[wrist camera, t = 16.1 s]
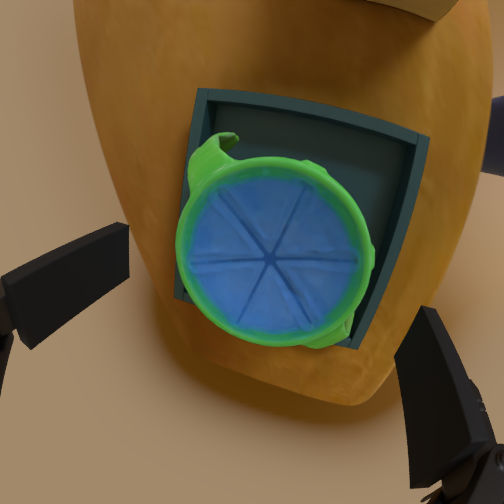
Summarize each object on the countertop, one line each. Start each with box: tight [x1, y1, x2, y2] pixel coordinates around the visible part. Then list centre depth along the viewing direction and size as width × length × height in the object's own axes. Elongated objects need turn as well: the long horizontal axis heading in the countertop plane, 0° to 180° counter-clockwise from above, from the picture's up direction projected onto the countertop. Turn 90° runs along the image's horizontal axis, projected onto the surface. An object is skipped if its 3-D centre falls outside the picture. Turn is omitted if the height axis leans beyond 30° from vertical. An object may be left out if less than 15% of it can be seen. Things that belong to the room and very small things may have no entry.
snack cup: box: [175, 132, 375, 349], centre depth 18 cm, size 16×10×10 cm
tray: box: [174, 88, 430, 350], centre depth 22 cm, size 18×19×4 cm
